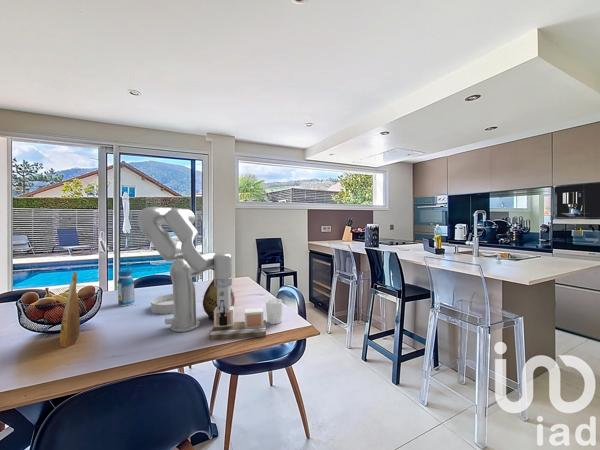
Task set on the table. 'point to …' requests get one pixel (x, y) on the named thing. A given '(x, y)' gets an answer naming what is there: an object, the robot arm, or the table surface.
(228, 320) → the turned carton
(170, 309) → the dish
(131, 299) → the beverage bottle
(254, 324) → the carton
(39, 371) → the table surface
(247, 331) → the grey rectangular tray
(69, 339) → the pancake mix bag
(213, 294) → the ceramic jug
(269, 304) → the white cup
